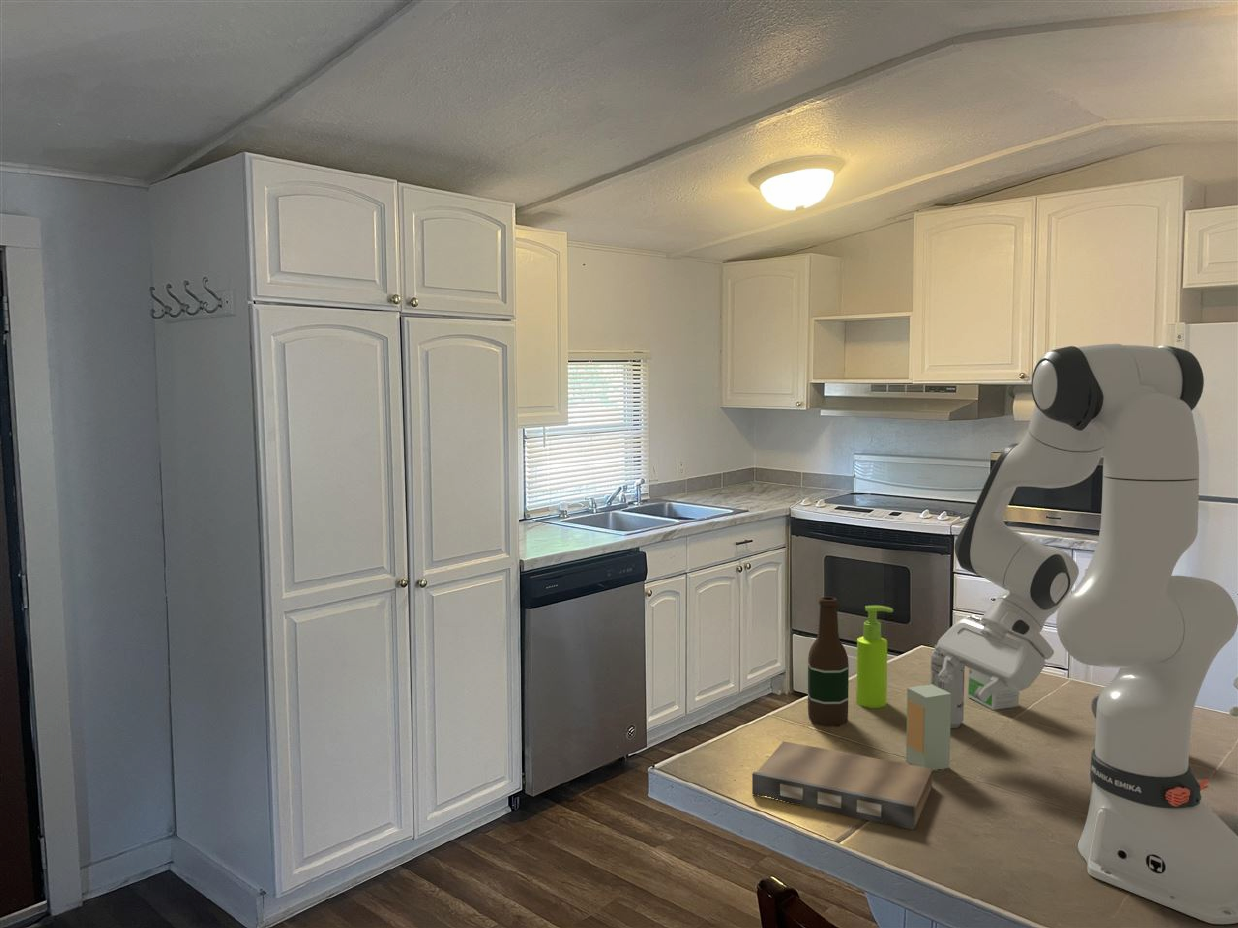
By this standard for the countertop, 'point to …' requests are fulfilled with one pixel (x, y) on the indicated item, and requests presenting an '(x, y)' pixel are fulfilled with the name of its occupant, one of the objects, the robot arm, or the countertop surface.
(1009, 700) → the skincare box
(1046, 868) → the countertop surface
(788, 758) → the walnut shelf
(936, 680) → the energy drink can
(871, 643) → the soap dispenser
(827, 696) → the beer bottle
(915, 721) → the sage carton
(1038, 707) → the countertop surface
